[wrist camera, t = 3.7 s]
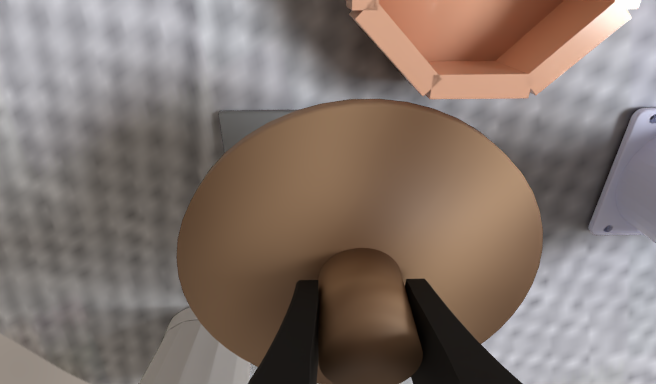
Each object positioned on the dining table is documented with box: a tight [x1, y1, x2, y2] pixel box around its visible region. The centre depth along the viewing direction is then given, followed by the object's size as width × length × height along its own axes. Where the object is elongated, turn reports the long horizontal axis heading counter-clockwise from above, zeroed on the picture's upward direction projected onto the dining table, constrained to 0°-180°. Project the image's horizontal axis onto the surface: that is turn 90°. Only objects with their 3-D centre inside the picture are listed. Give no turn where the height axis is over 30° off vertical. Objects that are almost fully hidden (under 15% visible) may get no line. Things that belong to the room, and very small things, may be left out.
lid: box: [177, 99, 543, 384], centre depth 12 cm, size 12×12×4 cm
